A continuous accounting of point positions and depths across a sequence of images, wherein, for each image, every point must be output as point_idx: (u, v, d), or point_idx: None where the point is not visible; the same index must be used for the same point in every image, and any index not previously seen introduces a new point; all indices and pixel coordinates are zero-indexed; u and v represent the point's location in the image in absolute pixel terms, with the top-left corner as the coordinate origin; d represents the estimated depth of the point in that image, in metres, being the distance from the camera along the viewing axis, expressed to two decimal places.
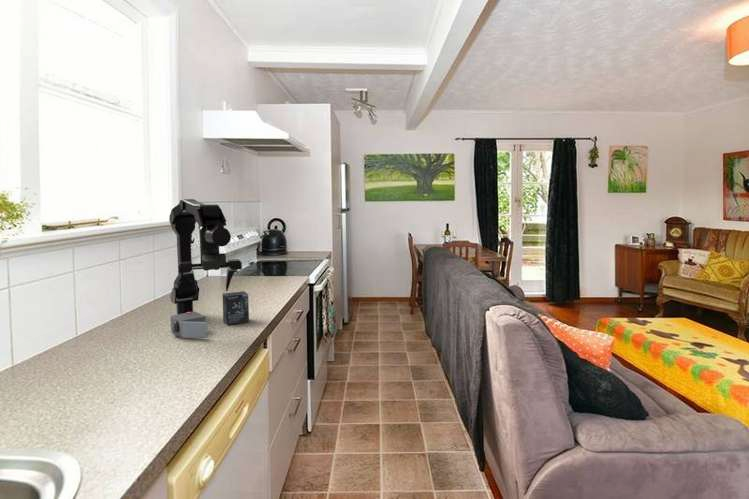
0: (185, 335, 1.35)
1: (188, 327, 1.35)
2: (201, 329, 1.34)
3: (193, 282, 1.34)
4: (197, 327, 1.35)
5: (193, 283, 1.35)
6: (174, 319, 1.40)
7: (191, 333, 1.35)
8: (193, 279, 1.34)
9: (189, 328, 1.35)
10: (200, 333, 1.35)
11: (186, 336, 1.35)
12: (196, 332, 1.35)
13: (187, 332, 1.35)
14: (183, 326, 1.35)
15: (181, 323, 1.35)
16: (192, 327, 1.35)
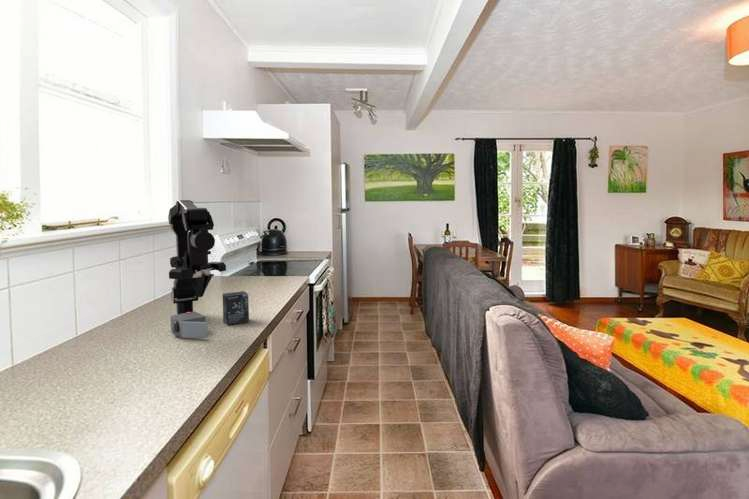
0: (185, 335, 1.35)
1: (188, 327, 1.35)
2: (201, 329, 1.34)
3: None
4: (197, 327, 1.35)
5: None
6: (174, 319, 1.40)
7: (191, 333, 1.35)
8: None
9: (189, 328, 1.35)
10: (200, 333, 1.35)
11: (186, 336, 1.35)
12: (196, 332, 1.35)
13: (187, 332, 1.35)
14: (183, 326, 1.35)
15: (181, 323, 1.35)
16: (192, 327, 1.35)
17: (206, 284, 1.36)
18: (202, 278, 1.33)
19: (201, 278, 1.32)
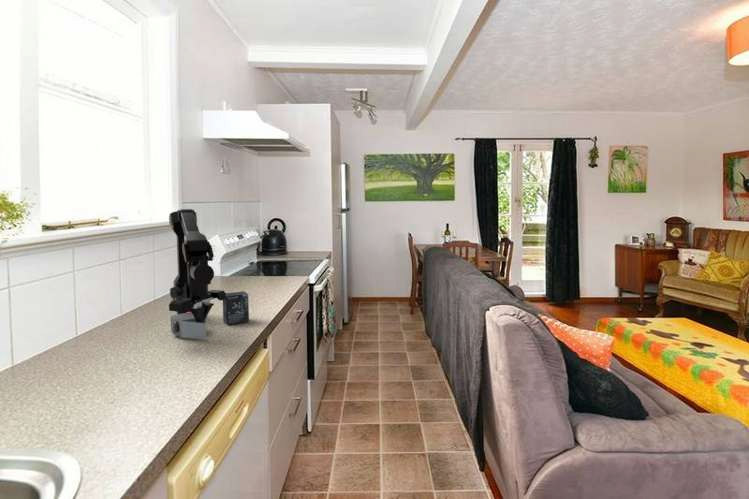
0: (185, 335, 1.35)
1: (188, 327, 1.35)
2: (200, 329, 1.34)
3: None
4: (196, 327, 1.34)
5: None
6: (174, 319, 1.40)
7: (190, 333, 1.35)
8: None
9: (189, 328, 1.35)
10: (199, 333, 1.34)
11: (186, 336, 1.35)
12: (196, 332, 1.34)
13: (187, 332, 1.35)
14: (183, 326, 1.35)
15: (181, 323, 1.35)
16: (191, 327, 1.34)
17: (206, 314, 1.36)
18: (202, 308, 1.33)
19: (201, 309, 1.33)
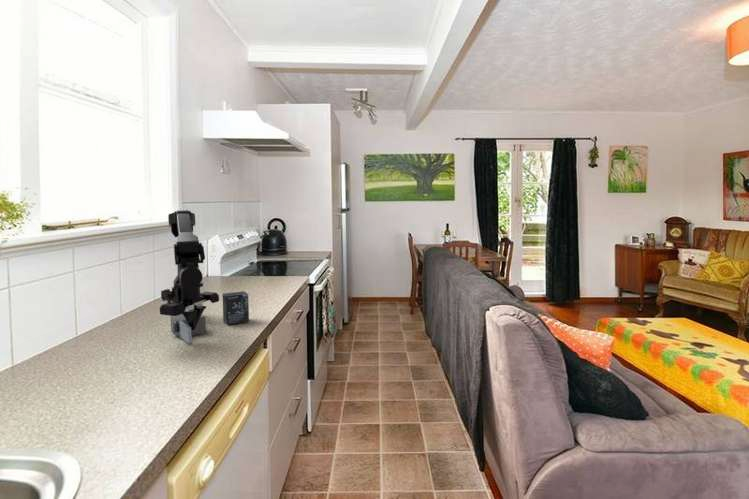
0: (181, 336, 1.34)
1: (182, 328, 1.33)
2: (187, 333, 1.30)
3: None
4: (185, 330, 1.31)
5: None
6: (174, 319, 1.40)
7: (183, 335, 1.33)
8: None
9: (183, 330, 1.33)
10: (186, 337, 1.31)
11: (182, 337, 1.34)
12: (185, 335, 1.31)
13: (182, 333, 1.34)
14: (180, 326, 1.35)
15: (180, 323, 1.35)
16: (183, 329, 1.32)
17: (198, 317, 1.32)
18: (195, 312, 1.30)
19: (194, 312, 1.29)
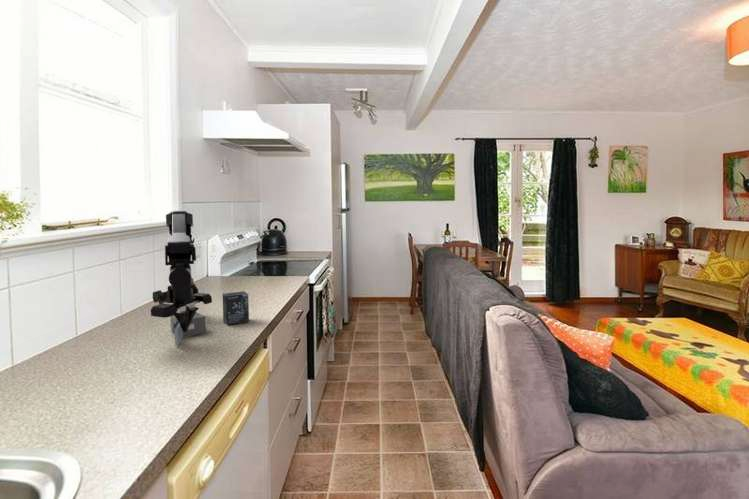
0: None
1: None
2: None
3: None
4: None
5: None
6: (174, 319, 1.40)
7: None
8: None
9: None
10: None
11: None
12: None
13: None
14: None
15: None
16: None
17: (190, 319, 1.30)
18: (187, 313, 1.28)
19: (186, 313, 1.27)
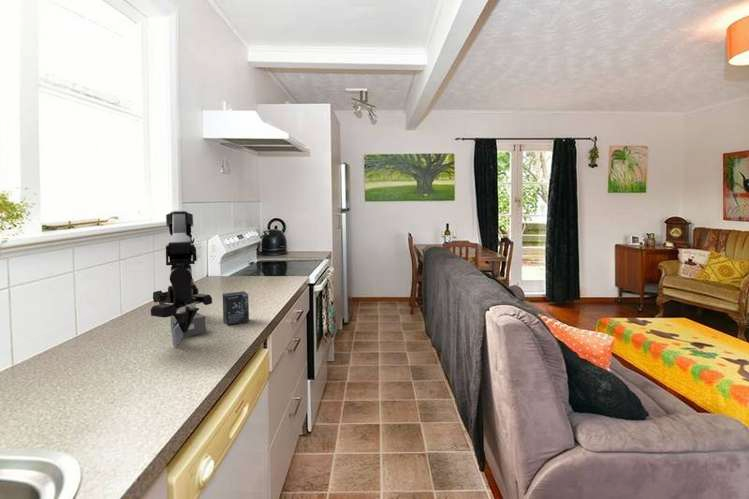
0: None
1: None
2: None
3: None
4: None
5: None
6: (174, 319, 1.40)
7: None
8: None
9: None
10: None
11: None
12: None
13: None
14: None
15: None
16: None
17: (191, 319, 1.30)
18: (186, 314, 1.28)
19: (185, 314, 1.27)
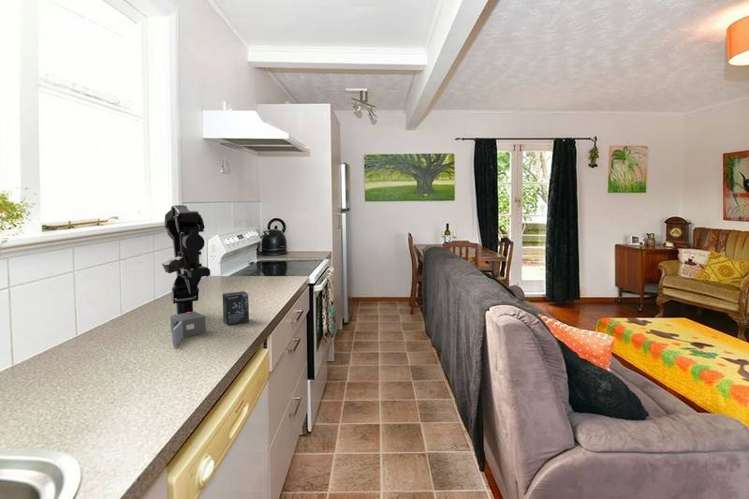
0: None
1: None
2: None
3: (186, 283, 1.45)
4: None
5: (186, 284, 1.45)
6: (174, 319, 1.40)
7: None
8: (186, 280, 1.45)
9: None
10: None
11: None
12: None
13: None
14: None
15: None
16: None
17: None
18: None
19: None
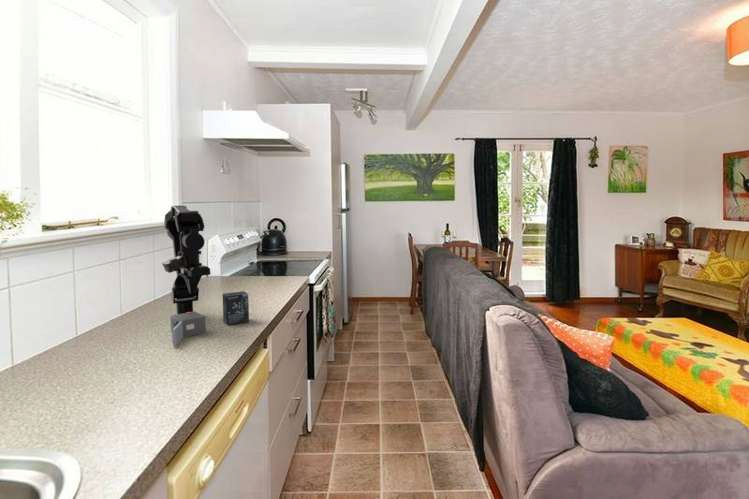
0: None
1: None
2: None
3: (186, 282, 1.45)
4: None
5: (186, 283, 1.45)
6: (174, 319, 1.40)
7: None
8: (186, 280, 1.45)
9: None
10: None
11: None
12: None
13: None
14: None
15: None
16: None
17: None
18: None
19: None
